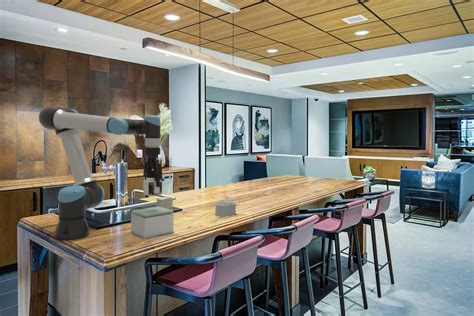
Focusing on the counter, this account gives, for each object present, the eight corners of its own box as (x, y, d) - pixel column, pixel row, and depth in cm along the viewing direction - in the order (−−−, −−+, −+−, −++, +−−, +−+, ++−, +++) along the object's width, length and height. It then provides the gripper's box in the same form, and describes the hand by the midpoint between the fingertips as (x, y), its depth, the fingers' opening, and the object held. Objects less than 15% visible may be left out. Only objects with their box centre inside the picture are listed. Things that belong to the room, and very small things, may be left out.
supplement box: (167, 217, 202) (167, 196, 201) (172, 219, 199) (172, 197, 198) (156, 220, 196) (156, 198, 195) (161, 221, 193) (161, 199, 192)
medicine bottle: (148, 196, 166) (148, 171, 165) (143, 193, 171) (143, 170, 171) (162, 194, 170) (162, 171, 169) (156, 192, 176) (156, 169, 175)
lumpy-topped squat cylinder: (237, 214, 214) (238, 201, 214) (222, 217, 205) (222, 203, 205) (226, 211, 222) (226, 198, 221) (211, 214, 213) (211, 201, 212)
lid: (144, 217, 161) (144, 215, 161) (131, 212, 171) (131, 210, 171) (173, 212, 172) (173, 210, 172) (159, 208, 182) (159, 206, 182)
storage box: (144, 239, 162) (144, 218, 161) (131, 232, 172) (131, 212, 171) (173, 232, 173) (173, 213, 172) (159, 226, 183) (159, 208, 182)
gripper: (170, 147, 164) (170, 194, 166) (149, 145, 179) (149, 188, 181) (156, 147, 159) (156, 196, 161) (136, 146, 174) (136, 190, 175)
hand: (152, 192), depth 171 cm, fingers closed on medicine bottle, 8 cm apart
